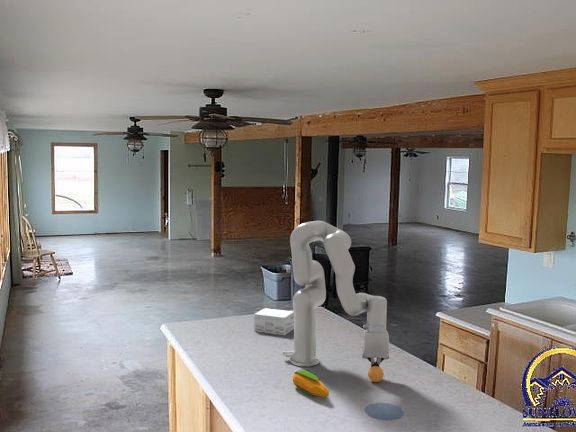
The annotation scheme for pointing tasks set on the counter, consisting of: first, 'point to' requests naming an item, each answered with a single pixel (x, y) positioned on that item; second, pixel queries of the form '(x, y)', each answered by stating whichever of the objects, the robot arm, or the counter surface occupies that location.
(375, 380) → the ball
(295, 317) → the robot arm
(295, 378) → the corn
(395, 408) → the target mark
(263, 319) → the supplement box
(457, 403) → the counter surface
